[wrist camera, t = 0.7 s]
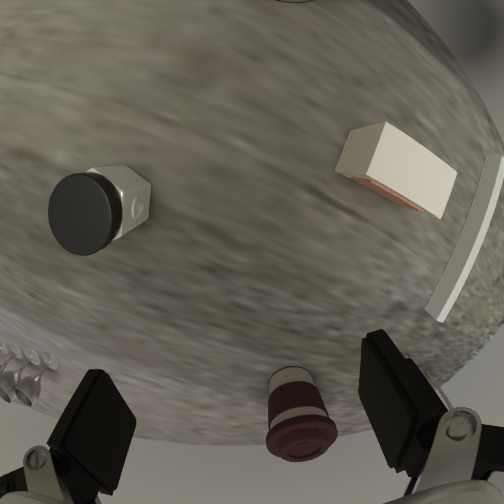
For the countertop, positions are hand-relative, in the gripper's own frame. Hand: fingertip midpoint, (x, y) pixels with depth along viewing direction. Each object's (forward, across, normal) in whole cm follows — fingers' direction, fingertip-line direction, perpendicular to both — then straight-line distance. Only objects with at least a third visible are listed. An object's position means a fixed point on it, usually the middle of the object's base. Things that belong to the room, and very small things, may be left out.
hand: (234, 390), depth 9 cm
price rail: (+28, -37, +8) cm, 47 cm away
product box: (+28, -19, -4) cm, 35 cm away
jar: (+28, +15, -6) cm, 33 cm away
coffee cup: (+28, -3, +28) cm, 40 cm away
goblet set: (+28, +55, +17) cm, 64 cm away
